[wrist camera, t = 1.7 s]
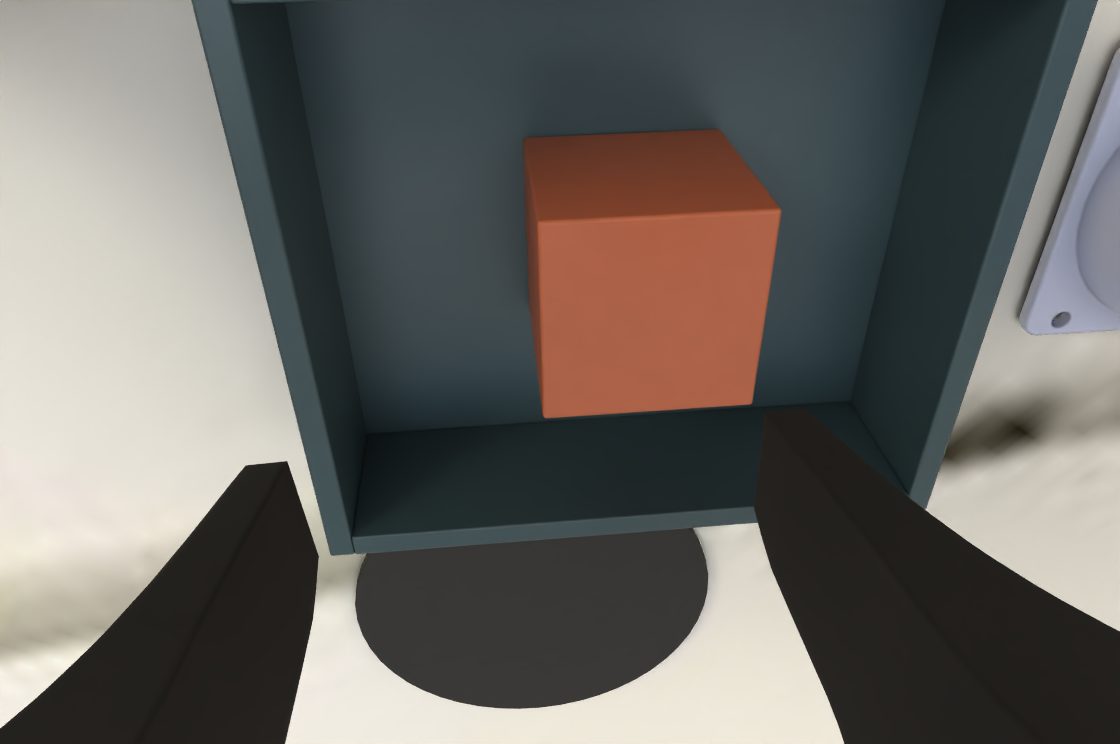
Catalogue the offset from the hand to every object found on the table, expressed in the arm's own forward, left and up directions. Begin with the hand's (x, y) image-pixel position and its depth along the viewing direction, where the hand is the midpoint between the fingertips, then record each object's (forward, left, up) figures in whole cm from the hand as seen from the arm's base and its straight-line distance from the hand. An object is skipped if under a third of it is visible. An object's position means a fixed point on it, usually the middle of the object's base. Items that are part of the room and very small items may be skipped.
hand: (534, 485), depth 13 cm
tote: (-3, 0, -10) cm, 10 cm away
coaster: (0, +14, -10) cm, 17 cm away
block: (-3, 0, -9) cm, 9 cm away
